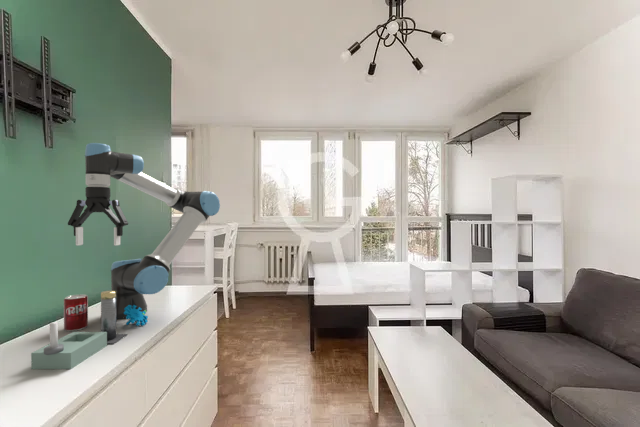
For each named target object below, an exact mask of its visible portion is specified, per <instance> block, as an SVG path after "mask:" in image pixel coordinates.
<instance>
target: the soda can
mask: <svg viewBox="0 0 640 427" xmlns="http://www.w3.org/2000/svg"><path fill="white" fill-rule="evenodd" d="M88 325H89V297H88V295H87V294H83V293H81V294H79V293H78V294H72V295H67V296H65V298H63V330H64V331H66V332H79V331H80V330H84V329H86V328H87V327H88Z"/></svg>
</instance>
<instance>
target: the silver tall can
mask: <svg viewBox="0 0 640 427" xmlns="http://www.w3.org/2000/svg"><path fill="white" fill-rule="evenodd" d="M100 330H101V331H100V332H107V341H109V340H113V339H115V338H116V334H117V319H116V291H114V290H111V289H110V290H104V291H101V292H100Z"/></svg>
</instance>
